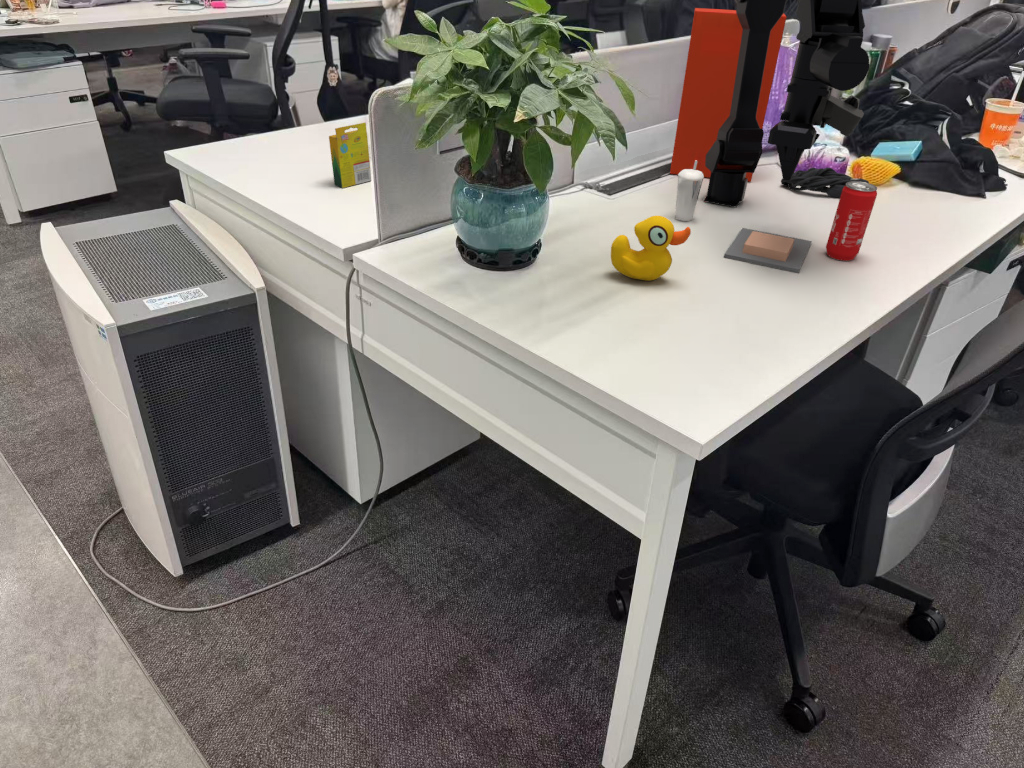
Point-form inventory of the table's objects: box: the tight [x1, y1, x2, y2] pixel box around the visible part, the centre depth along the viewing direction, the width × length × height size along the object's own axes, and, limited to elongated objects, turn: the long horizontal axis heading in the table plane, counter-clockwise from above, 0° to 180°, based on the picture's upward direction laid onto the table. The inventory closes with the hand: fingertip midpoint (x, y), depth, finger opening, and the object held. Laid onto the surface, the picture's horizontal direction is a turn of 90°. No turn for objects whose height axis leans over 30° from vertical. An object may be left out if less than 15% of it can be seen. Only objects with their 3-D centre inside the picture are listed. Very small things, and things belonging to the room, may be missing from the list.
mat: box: [723, 227, 812, 274], centre depth 122 cm, size 12×14×1 cm
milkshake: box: [674, 161, 705, 222], centre depth 132 cm, size 4×5×10 cm
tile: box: [742, 231, 795, 262], centre depth 121 cm, size 7×2×7 cm
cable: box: [780, 166, 870, 199], centre depth 152 cm, size 17×14×4 cm
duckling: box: [610, 215, 692, 282], centre depth 109 cm, size 11×5×10 cm, turn 78°
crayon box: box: [328, 122, 372, 189], centre depth 142 cm, size 7×3×12 cm, turn 136°
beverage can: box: [825, 181, 878, 262], centre depth 118 cm, size 5×5×12 cm
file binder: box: [669, 7, 787, 183], centre depth 150 cm, size 8×17×32 cm, turn 77°
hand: (786, 179), depth 117 cm, fingers closed
